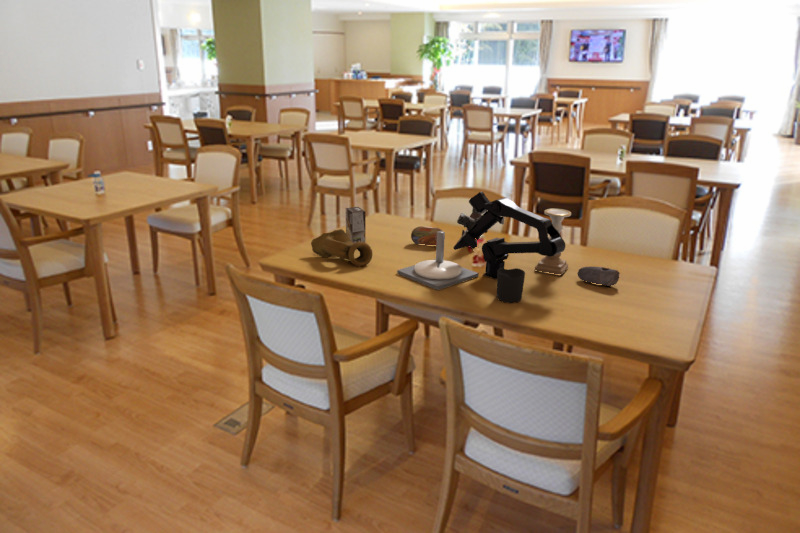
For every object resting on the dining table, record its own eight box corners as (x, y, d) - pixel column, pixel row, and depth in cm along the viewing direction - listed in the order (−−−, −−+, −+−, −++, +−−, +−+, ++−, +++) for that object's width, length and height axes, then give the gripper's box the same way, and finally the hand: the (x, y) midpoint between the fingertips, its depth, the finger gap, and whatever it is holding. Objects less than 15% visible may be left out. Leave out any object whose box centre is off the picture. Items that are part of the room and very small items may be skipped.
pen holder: (503, 291, 215) (506, 265, 212) (527, 298, 209) (530, 271, 206) (490, 298, 208) (492, 272, 205) (514, 306, 203) (516, 278, 199)
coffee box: (366, 247, 261) (366, 211, 255) (352, 248, 258) (352, 212, 253) (358, 241, 269) (358, 206, 263) (345, 242, 266) (344, 207, 261)
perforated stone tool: (574, 281, 226) (576, 264, 224) (579, 277, 230) (581, 260, 228) (614, 291, 218) (616, 273, 215) (618, 286, 222) (621, 269, 219)
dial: (471, 272, 228) (473, 238, 224) (438, 283, 217) (439, 247, 212) (437, 260, 241) (439, 228, 236) (404, 269, 229) (405, 236, 225)
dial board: (478, 276, 229) (478, 272, 228) (437, 290, 215) (438, 285, 214) (437, 262, 244) (437, 258, 243) (397, 273, 230) (397, 269, 229)
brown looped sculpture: (354, 232, 256) (377, 237, 237) (348, 261, 257) (370, 269, 238) (314, 223, 247) (335, 228, 228) (308, 254, 248) (328, 261, 229)
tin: (410, 244, 266) (411, 226, 263) (412, 242, 269) (413, 224, 266) (443, 248, 262) (444, 229, 259) (445, 246, 265) (446, 227, 262)
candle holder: (534, 271, 236) (540, 212, 228) (541, 263, 245) (547, 206, 237) (561, 276, 231) (568, 216, 223) (568, 268, 240) (575, 210, 232)
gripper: (471, 201, 234) (441, 227, 239) (469, 213, 216) (438, 240, 221) (490, 222, 235) (460, 247, 240) (490, 235, 218) (458, 262, 223)
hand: (454, 248), depth 231 cm, fingers closed
